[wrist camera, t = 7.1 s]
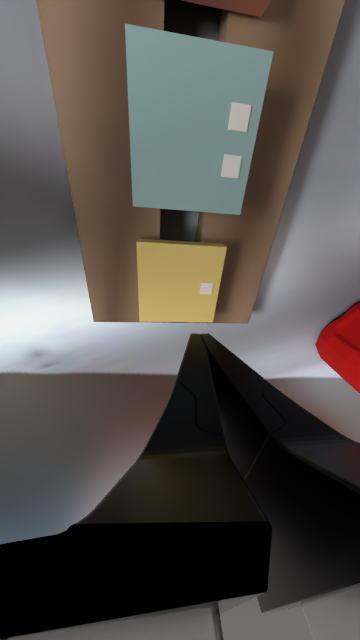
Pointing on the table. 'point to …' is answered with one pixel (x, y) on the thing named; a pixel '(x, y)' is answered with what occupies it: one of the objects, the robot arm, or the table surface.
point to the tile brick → (237, 5)
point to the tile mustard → (178, 280)
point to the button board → (114, 140)
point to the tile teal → (192, 119)
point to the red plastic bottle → (343, 346)
